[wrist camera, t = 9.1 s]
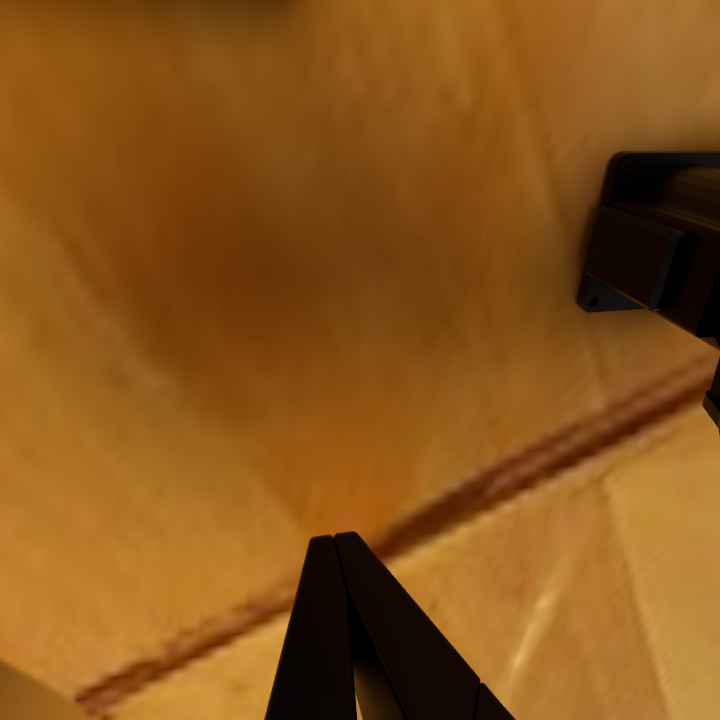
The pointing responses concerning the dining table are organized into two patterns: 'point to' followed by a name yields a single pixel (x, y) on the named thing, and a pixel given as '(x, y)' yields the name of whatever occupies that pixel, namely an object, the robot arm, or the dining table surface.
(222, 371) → the dining table surface
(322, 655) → the robot arm
